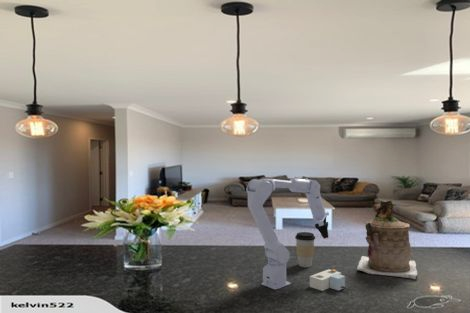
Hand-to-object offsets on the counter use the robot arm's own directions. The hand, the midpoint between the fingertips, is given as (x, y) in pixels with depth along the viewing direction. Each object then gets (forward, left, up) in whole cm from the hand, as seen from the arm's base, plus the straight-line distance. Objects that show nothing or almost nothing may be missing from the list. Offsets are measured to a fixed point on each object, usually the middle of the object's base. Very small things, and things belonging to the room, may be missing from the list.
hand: (325, 233), depth 160 cm
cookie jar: (+28, -14, -18) cm, 36 cm away
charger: (-10, -13, -18) cm, 24 cm away
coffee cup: (+4, +14, -18) cm, 23 cm away
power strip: (-8, -8, -18) cm, 21 cm away
